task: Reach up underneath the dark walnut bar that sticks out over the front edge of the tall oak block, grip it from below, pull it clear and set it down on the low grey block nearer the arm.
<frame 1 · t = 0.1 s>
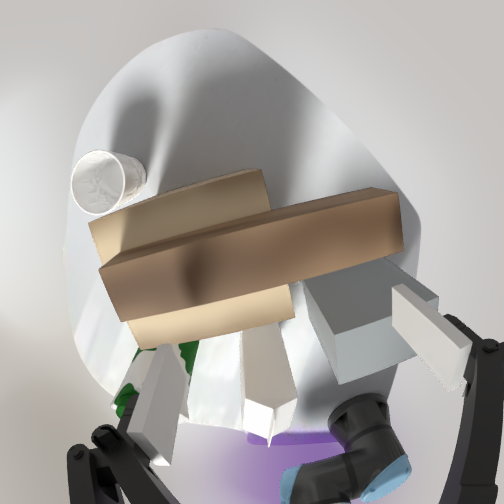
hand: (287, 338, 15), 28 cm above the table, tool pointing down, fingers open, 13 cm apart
milk: (257, 330, 47), on the table
grey block: (344, 287, 46), on the table
milk carton: (172, 339, 47), on the table
bar: (250, 243, 21), point 21 cm above the table, touching oak block
white cup: (126, 178, 39), on the table
oak block: (212, 221, 41), on the table
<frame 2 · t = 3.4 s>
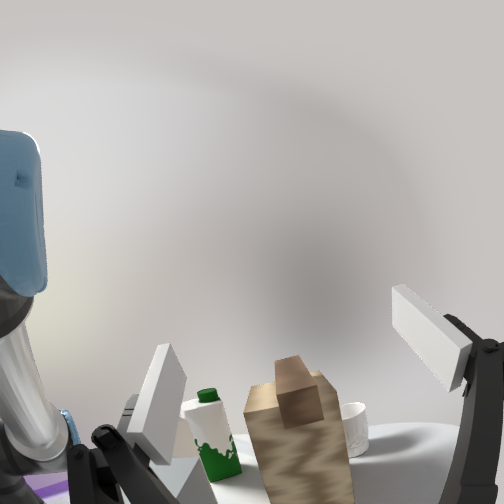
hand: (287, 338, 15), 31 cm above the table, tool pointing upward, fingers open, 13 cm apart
milk carton: (221, 472, 46), on the table
bar: (296, 397, 33), point 21 cm above the table, touching oak block
white cup: (352, 450, 44), on the table
oak block: (311, 491, 34), on the table
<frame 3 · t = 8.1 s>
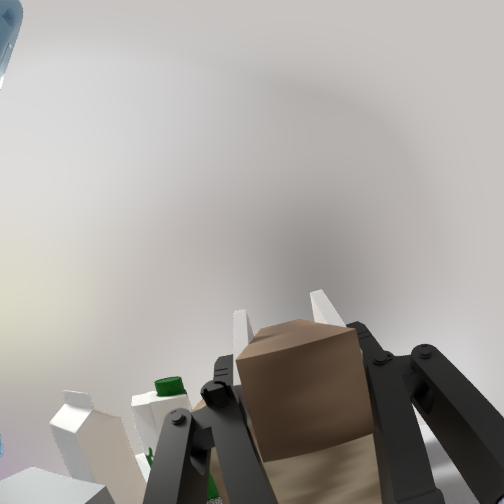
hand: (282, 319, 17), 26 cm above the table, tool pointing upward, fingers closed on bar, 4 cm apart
milk carton: (192, 493, 30), on the table
bar: (297, 384, 17), point 21 cm above the table, touching gripper, oak block
when the fingers open (25 cm above the table, at t = 12.6 s): bar drops 3 cm, resting on grey block.
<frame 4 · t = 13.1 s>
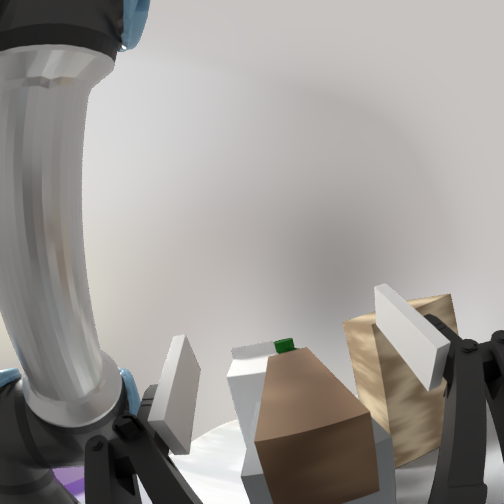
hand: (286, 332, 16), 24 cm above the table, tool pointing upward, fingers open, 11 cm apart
milk: (287, 483, 29), on the table
bar: (306, 422, 17), point 17 cm above the table, touching grey block
oak block: (411, 434, 31), on the table
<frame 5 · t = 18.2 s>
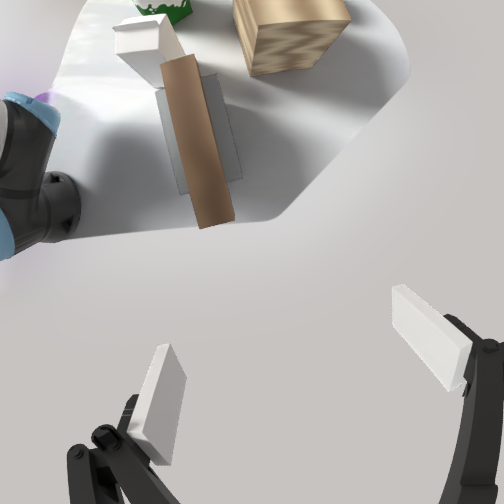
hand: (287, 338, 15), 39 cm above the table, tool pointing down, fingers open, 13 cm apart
milk: (170, 73, 43), on the table
grey block: (210, 143, 48), on the table
milk carton: (168, 14, 39), on the table
bar: (199, 140, 32), point 17 cm above the table, touching grey block
oak block: (272, 41, 42), on the table
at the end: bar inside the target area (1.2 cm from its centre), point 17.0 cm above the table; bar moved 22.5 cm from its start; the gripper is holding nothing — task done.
